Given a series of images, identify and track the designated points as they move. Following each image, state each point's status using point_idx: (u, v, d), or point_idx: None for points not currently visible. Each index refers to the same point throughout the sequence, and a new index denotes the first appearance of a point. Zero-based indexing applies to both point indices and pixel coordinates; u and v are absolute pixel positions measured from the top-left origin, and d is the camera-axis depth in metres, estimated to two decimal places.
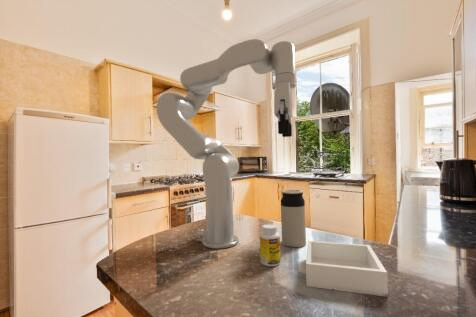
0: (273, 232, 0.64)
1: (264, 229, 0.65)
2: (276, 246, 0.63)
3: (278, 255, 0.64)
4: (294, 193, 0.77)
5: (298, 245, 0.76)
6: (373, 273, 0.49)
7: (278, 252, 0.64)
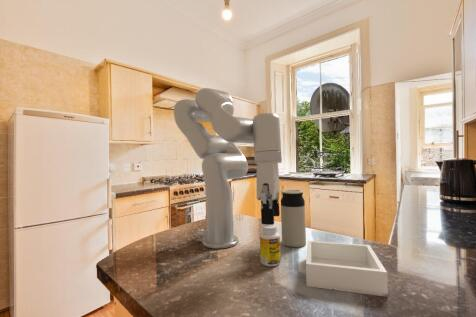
0: (273, 232, 0.64)
1: (264, 229, 0.65)
2: (276, 246, 0.63)
3: (278, 255, 0.64)
4: (294, 193, 0.77)
5: (298, 245, 0.76)
6: (373, 273, 0.49)
7: (278, 252, 0.64)
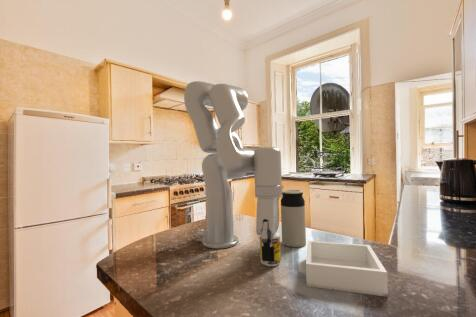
0: None
1: None
2: (276, 246, 0.63)
3: (278, 255, 0.64)
4: (294, 193, 0.77)
5: (298, 245, 0.76)
6: (373, 273, 0.49)
7: (278, 252, 0.64)
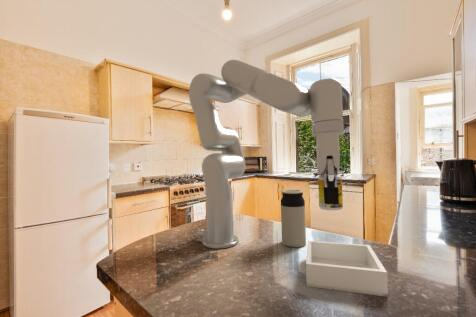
0: None
1: None
2: (339, 188, 0.57)
3: (341, 198, 0.57)
4: (294, 193, 0.77)
5: (298, 245, 0.76)
6: (373, 273, 0.49)
7: (341, 195, 0.57)
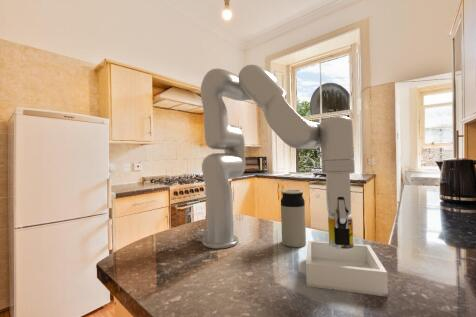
0: None
1: None
2: (350, 228, 0.56)
3: (352, 238, 0.56)
4: (294, 193, 0.77)
5: (298, 245, 0.76)
6: (373, 273, 0.49)
7: (352, 235, 0.56)
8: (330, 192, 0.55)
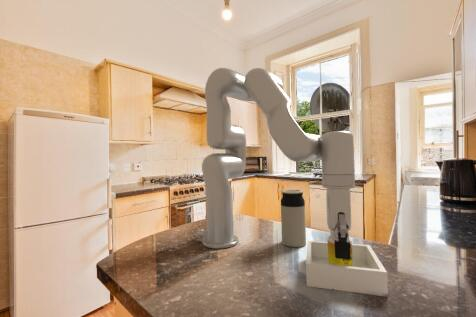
0: None
1: (334, 233, 0.57)
2: None
3: (351, 262, 0.56)
4: (294, 193, 0.77)
5: (298, 245, 0.76)
6: (373, 273, 0.49)
7: (351, 259, 0.56)
8: (330, 207, 0.55)
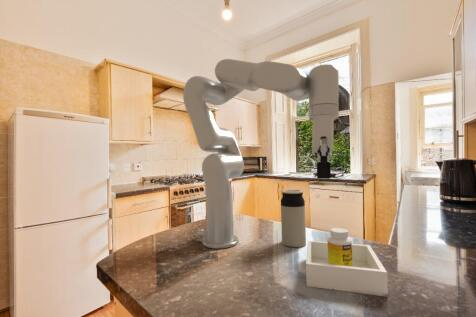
0: (346, 237, 0.56)
1: (334, 233, 0.57)
2: (349, 253, 0.56)
3: (351, 263, 0.56)
4: (294, 193, 0.77)
5: (298, 245, 0.76)
6: (373, 273, 0.49)
7: (351, 259, 0.56)
8: (314, 133, 0.60)
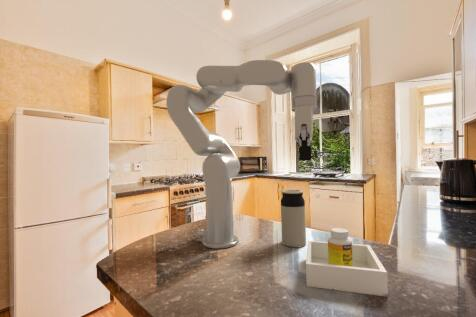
0: (346, 236, 0.57)
1: (335, 233, 0.57)
2: (350, 253, 0.56)
3: (351, 263, 0.56)
4: (294, 193, 0.77)
5: (298, 245, 0.76)
6: (373, 273, 0.49)
7: (351, 259, 0.56)
8: (296, 121, 0.69)
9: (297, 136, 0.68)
